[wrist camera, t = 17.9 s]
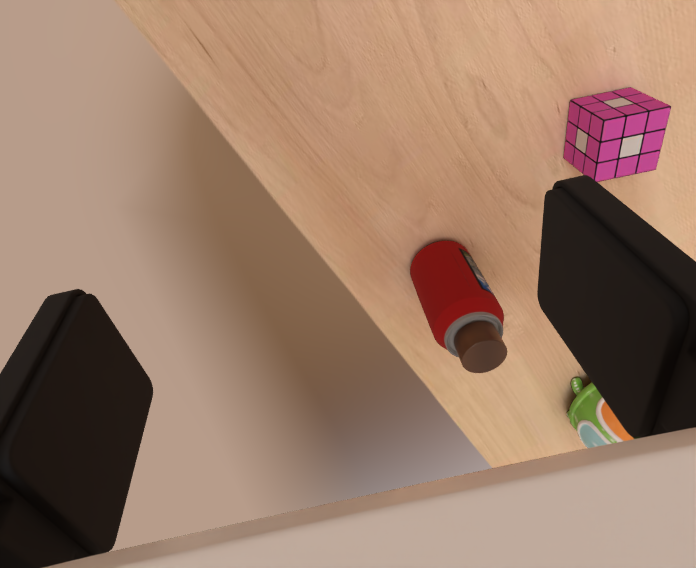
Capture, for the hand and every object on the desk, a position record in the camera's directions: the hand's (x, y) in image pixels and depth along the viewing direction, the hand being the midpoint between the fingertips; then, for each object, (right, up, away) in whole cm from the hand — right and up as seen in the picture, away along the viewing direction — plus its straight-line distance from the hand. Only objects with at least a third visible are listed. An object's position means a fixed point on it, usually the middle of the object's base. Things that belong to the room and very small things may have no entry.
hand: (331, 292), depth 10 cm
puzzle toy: (+24, +15, +36) cm, 45 cm away
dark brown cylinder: (+12, -5, +33) cm, 36 cm away
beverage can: (+10, +3, +43) cm, 44 cm away
